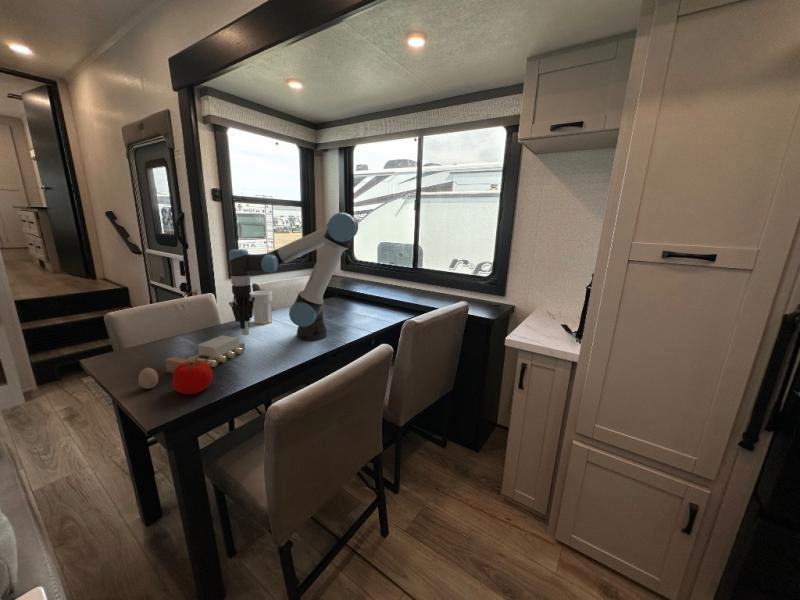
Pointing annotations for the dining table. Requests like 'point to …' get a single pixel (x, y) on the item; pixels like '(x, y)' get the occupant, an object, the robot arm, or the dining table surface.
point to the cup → (262, 307)
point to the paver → (218, 346)
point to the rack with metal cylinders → (203, 358)
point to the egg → (148, 378)
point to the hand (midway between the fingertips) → (245, 334)
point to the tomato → (192, 377)
